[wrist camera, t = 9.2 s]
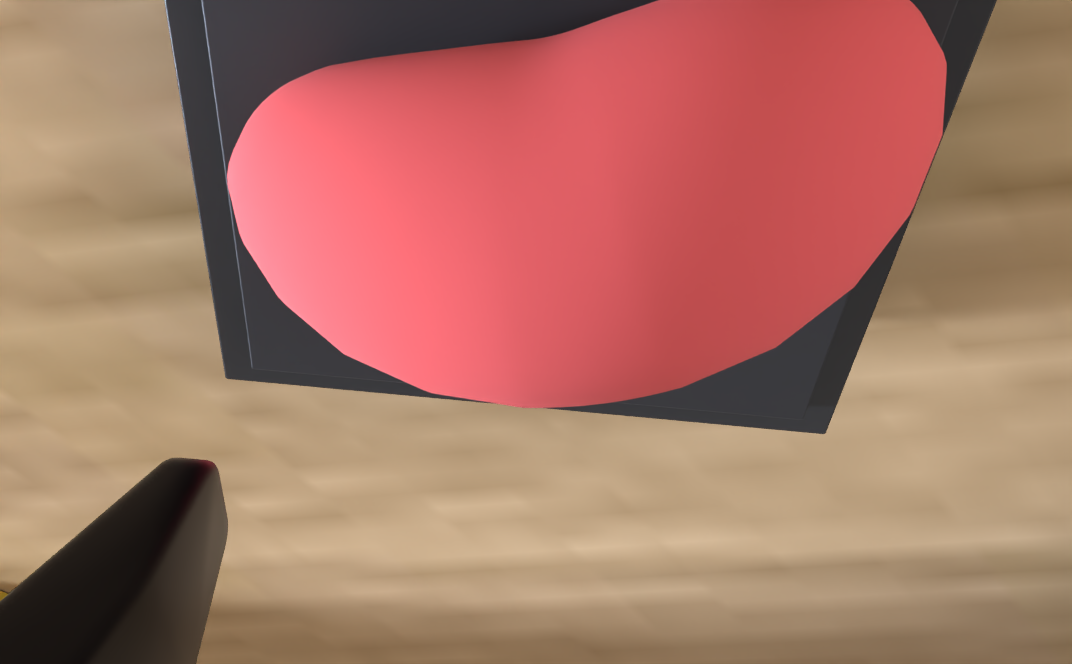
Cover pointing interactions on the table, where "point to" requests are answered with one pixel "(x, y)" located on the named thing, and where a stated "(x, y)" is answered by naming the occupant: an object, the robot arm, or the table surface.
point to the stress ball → (593, 193)
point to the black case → (442, 23)
